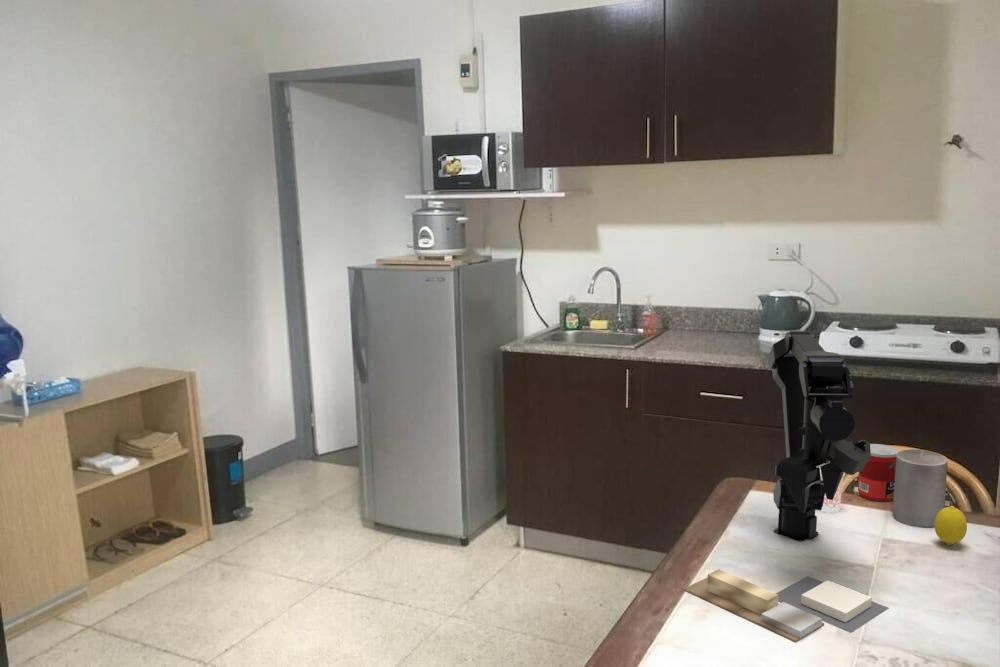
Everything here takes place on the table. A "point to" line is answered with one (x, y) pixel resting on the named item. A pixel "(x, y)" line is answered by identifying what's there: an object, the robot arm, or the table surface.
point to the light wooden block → (763, 604)
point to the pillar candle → (919, 487)
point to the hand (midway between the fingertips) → (816, 505)
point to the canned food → (879, 474)
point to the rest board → (737, 608)
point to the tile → (836, 601)
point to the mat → (793, 598)
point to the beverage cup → (834, 504)
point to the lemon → (950, 525)
